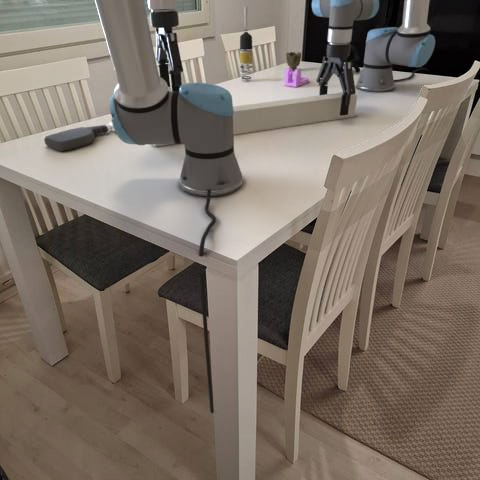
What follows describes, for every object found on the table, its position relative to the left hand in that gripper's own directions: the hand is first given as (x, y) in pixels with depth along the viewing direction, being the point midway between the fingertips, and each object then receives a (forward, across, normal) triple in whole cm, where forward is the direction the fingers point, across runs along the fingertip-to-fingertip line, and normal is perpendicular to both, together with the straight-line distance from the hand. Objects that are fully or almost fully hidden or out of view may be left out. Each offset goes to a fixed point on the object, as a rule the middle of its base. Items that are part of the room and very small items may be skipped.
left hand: (171, 92), depth 130 cm
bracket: (+15, +49, -70) cm, 87 cm away
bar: (+15, 0, -28) cm, 32 cm away
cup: (+15, +75, -81) cm, 112 cm away
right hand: (+12, 0, -56) cm, 57 cm away
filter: (+15, +65, -51) cm, 84 cm away
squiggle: (+15, +60, -103) cm, 120 cm away
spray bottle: (+15, +13, +25) cm, 32 cm away
